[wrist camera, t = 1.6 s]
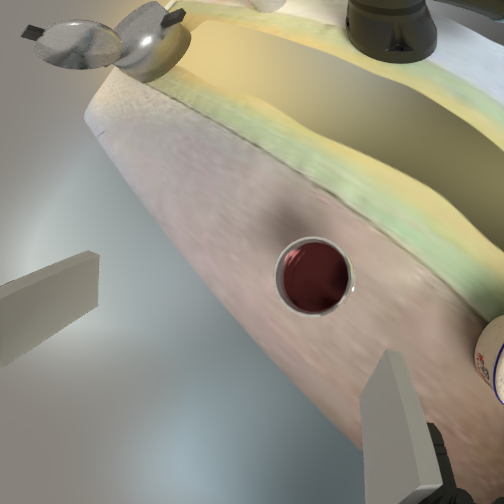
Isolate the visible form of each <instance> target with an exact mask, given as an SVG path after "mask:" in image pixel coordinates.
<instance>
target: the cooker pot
mask: <svg viewBox="0 0 504 504" xmlns="http://www.w3.org/2000/svg"><path fill="white" fill-rule="evenodd" d="M185 14H186V12H185V11H184V10H183V9H182V8H181V9H178V10H176V11H174V12H171V13H169V12H168V11H167V10H166V9H165V8H163V7H162V6H161V5H160V4H159V3H158V2H156V1H153V2H149V3H146V4H144V5H142V6H140V7H138V8H137V9H136V10H134V11H133V12H132V13H130V14H129V15H128V16H127V17H125V18H124V19H123V20H122V21H121V22H120V23H119V24H118V26H117V27H116V28H115V29H114V31H115V32H116V33H117V34H118V35H119V36H120V37H121V39H122V42H123V48H122V52H121V56H122V59H121V60H119V61H117V62H115V63H113V64H114V65H115V66H116V67H118V68H120V69H121V70H123V71H124V72H126V73H127V74H129V75H130V76H132V77H133V78H135V79H136V80H138V81H139V82H142V83H147V82H151V81H153V80H156V79H158V78H159V77H161V76H162V75H164V74H165V73H167V72H168V71H169V70H170V69H171V68H172V67H174V66H175V65H176V64H177V63H178V61H179V60H180V59H181V58H182V57H183V55H184V54H185V52H186V51H187V49H188V47H189V45H190V41H191V34H190V32H189V31H188V30H187V29H186V28H185V27H184V26H183V25H182V24H181V23H180V22H182V21H183V18H184V16H185Z"/></svg>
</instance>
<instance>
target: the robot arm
mask: <svg viewBox="0 0 504 504" xmlns="http://www.w3.org/2000/svg"><path fill="white" fill-rule="evenodd" d="M435 1H438V2H443V3H446V4H450V5H453V6H457V7H460V8H463V9H466V10H469V11H472V12H475V13H478V14H481V15H484V16H486V17H489V18H490V19H491V20H493V21H495V22H501V23H504V0H435ZM346 29H347V32H348V36H349V39H350V41H351V42H352V44H353V45H354V46H355V47H356V48H357V49H358V50H359V51H361V52H362V53H364V54H365V55H367V56H369V57H372V58H374V59H377V60H380V61H384V62H390V63H413V62H417V61H421V60H423V59H425V58H427V57H428V56H430V55H431V54H432V53H433V52H434V50H435V48H436V46H437V29H436V26H435V24H434V22H433V20H432V17H431V15H430V12H429V10H428V8H427V5H426V3H425V0H348V7H347V17H346ZM98 277H99V255H98V254H96V253H94V252H91V251H89V250H88V251H85V252H83V253H80V254H77V255H75V256H72V257H70V258H67V259H64V260H62V261H59V262H57V263H54V264H52V265H50V266H47V267H45V268H42V269H40V270H37V271H35V272H32V273H30V274H28V275H26V276H23V277H21V278H18V279H16V280H13V281H11V282H8V283H6V284H4V285H2V286H0V370H2V369H4V368H5V367H7V366H8V365H9V364H11V363H12V362H14V361H15V360H17V359H18V358H20V357H21V356H22V355H24V354H25V353H27V352H28V351H30V350H31V349H33V348H34V347H36V346H37V345H39V344H40V343H42V342H43V341H45V340H46V339H48V338H49V337H51V336H52V335H54V334H55V333H57V332H58V331H60V330H61V329H63V328H64V327H66V326H67V325H69V324H71V323H72V322H74V321H75V320H77V319H78V318H80V317H81V316H83V315H85V314H86V313H88V312H89V311H91V310H92V309H94V308H95V307H97V306H98V279H99V278H98ZM359 404H360V414H361V425H362V437H363V451H364V470H365V504H476V503H474V501H473V499H472V497H471V495H470V494H469V493H468V492H467V491H465V490H463V489H461V488H457V487H456V483H455V479H454V475H453V472H452V468H451V464H450V461H449V457H448V456H447V451H446V448H445V447H444V445H445V444H444V441H443V438H442V435H441V433H440V431H439V430H438V429H437V427H436V426H435V425H434V423H426V420H425V416H424V413H423V410H422V407H421V404H420V401H419V398H418V395H417V392H416V389H415V387H414V384H413V381H412V378H411V375H410V373H409V370H408V367H407V365H406V362H405V359H404V357H403V354H402V352H399V351H394V350H390V349H386V350H385V352H384V353H383V355H382V357H381V359H380V361H379V363H378V365H377V366H376V368H375V370H374V372H373V374H372V375H371V377H370V379H369V381H368V382H367V384H366V386H365V387H364V389H363V391H362V392H361V394H360V396H359ZM491 504H504V497H500V498H498V499H496V500H495V501H494V502H492V503H491Z"/></svg>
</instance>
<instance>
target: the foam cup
mask: <svg viewBox="0 0 504 504" xmlns="http://www.w3.org/2000/svg"><path fill="white" fill-rule="evenodd" d="M249 1H250V2H251V4H252V5H253V6H254V7H255V8H256V9H257V10H258V11H259V12H262V13H269V12H273V11H276V10H278V9H280V8H281V7H283V5H284V4H285V3H286V0H249Z"/></svg>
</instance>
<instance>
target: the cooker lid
mask: <svg viewBox="0 0 504 504" xmlns="http://www.w3.org/2000/svg"><path fill="white" fill-rule="evenodd" d="M21 37H23V38H27V39H30V40H34V41H36V43H35V52H36V54H37V55H38V56H39V57H40V58H41V59H42V60H43V61H45V62H47V63H49V64H52V65H54V66H58V67H61V68H67V69H77V70H78V69H79V70H84V69H85V70H86V69H95V68H100V67H107V66H109V65H111V64H113V63H115V62H117V61H119V60H121V59H122V56H121V52H122V48H123V42H122V39H121V37H120V36H119V35H118V34H117V33H116V32H115V31H114V30H113V29H111V28H109V27H108V26H106V25H103V24H101V23H97V22H94V21H89V20H66V21H62V22H58V23H55V24H52V25H50V26H48V27H47V28H45V29H41V28H38V27H35V26H31V25H28V26H27V27H26V28H25V30H24V31H23V32H22V35H21Z"/></svg>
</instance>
